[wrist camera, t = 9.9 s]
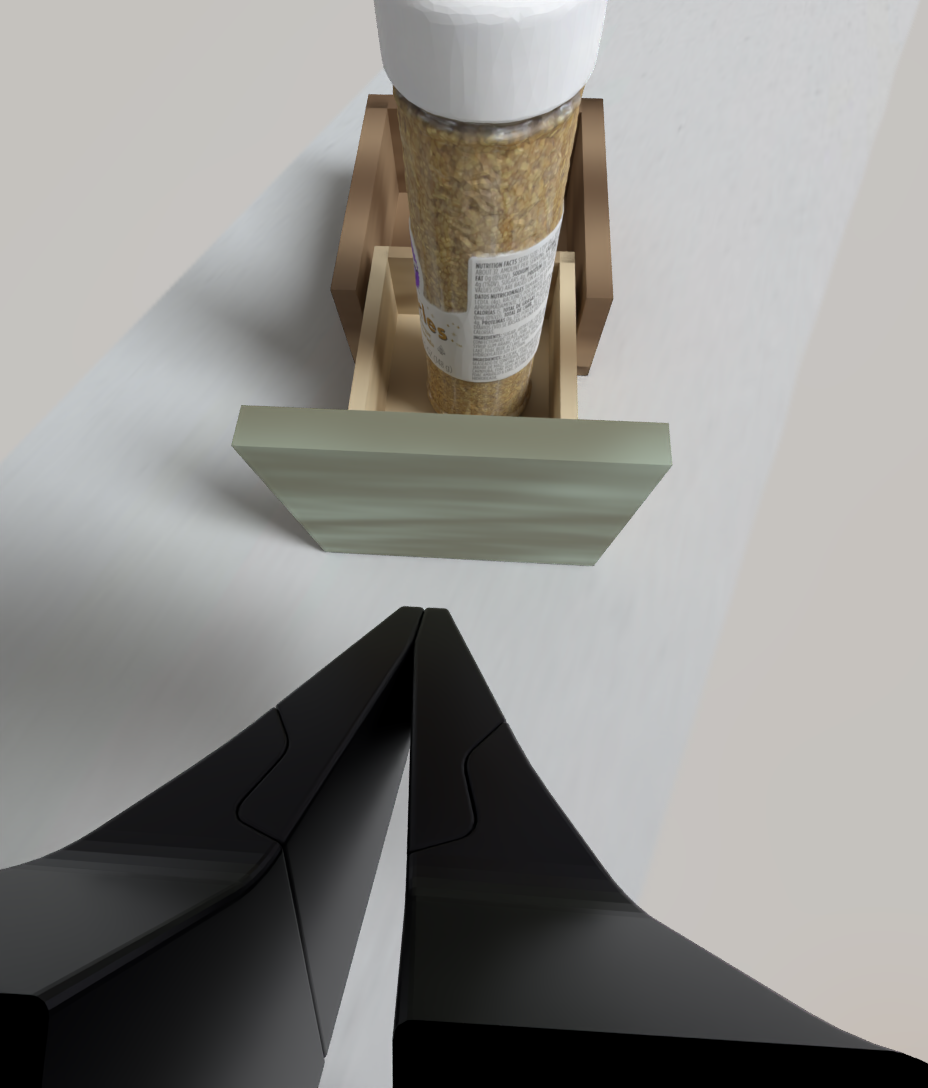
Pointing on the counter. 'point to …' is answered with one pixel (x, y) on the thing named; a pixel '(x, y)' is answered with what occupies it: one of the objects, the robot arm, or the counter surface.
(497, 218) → the spice jar
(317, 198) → the counter surface
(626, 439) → the drawer
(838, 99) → the counter surface
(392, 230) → the walnut caddy
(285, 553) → the counter surface
